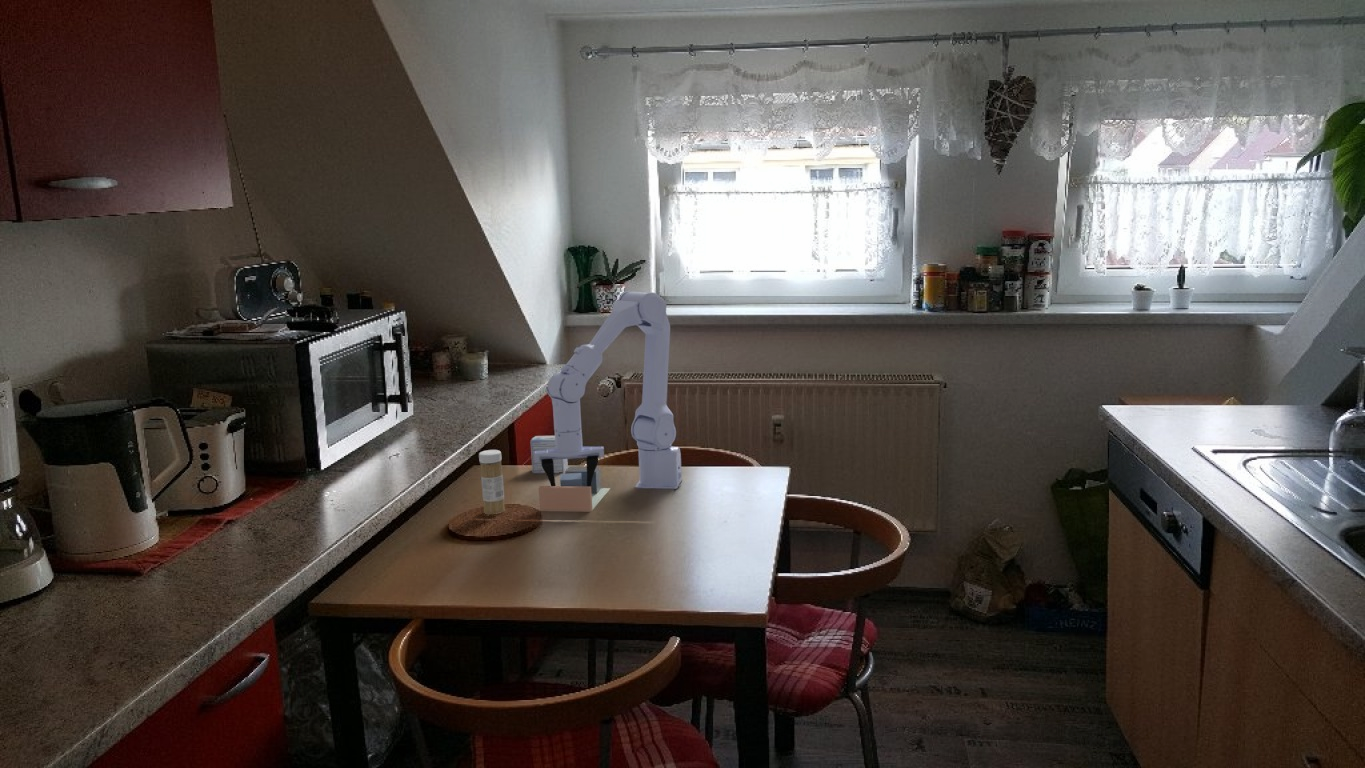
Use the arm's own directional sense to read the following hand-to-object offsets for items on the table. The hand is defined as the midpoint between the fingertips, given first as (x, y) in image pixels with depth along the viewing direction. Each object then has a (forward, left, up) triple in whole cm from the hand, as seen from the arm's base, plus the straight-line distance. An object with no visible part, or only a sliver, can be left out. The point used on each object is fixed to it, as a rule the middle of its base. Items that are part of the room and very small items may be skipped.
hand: (571, 491), depth 208 cm
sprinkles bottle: (+15, +7, -3) cm, 17 cm away
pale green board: (0, -3, -3) cm, 4 cm away
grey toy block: (0, -9, -3) cm, 10 cm away
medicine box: (+13, -26, -3) cm, 29 cm away
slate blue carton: (0, 0, -3) cm, 3 cm away
